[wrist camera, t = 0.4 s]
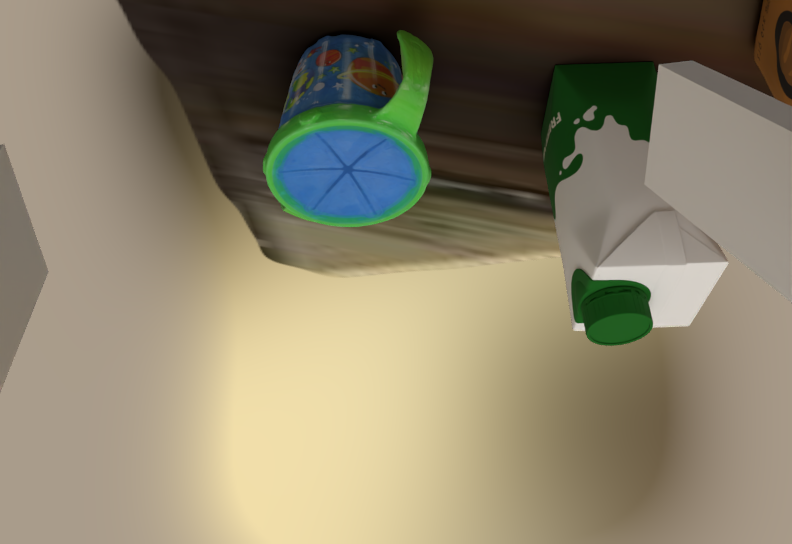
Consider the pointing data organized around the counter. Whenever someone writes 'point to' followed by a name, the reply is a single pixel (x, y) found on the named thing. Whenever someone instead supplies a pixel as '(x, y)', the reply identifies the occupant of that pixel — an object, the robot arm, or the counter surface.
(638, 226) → the milk carton
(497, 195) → the counter surface
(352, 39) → the snack cup
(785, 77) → the coffee package
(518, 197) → the counter surface
